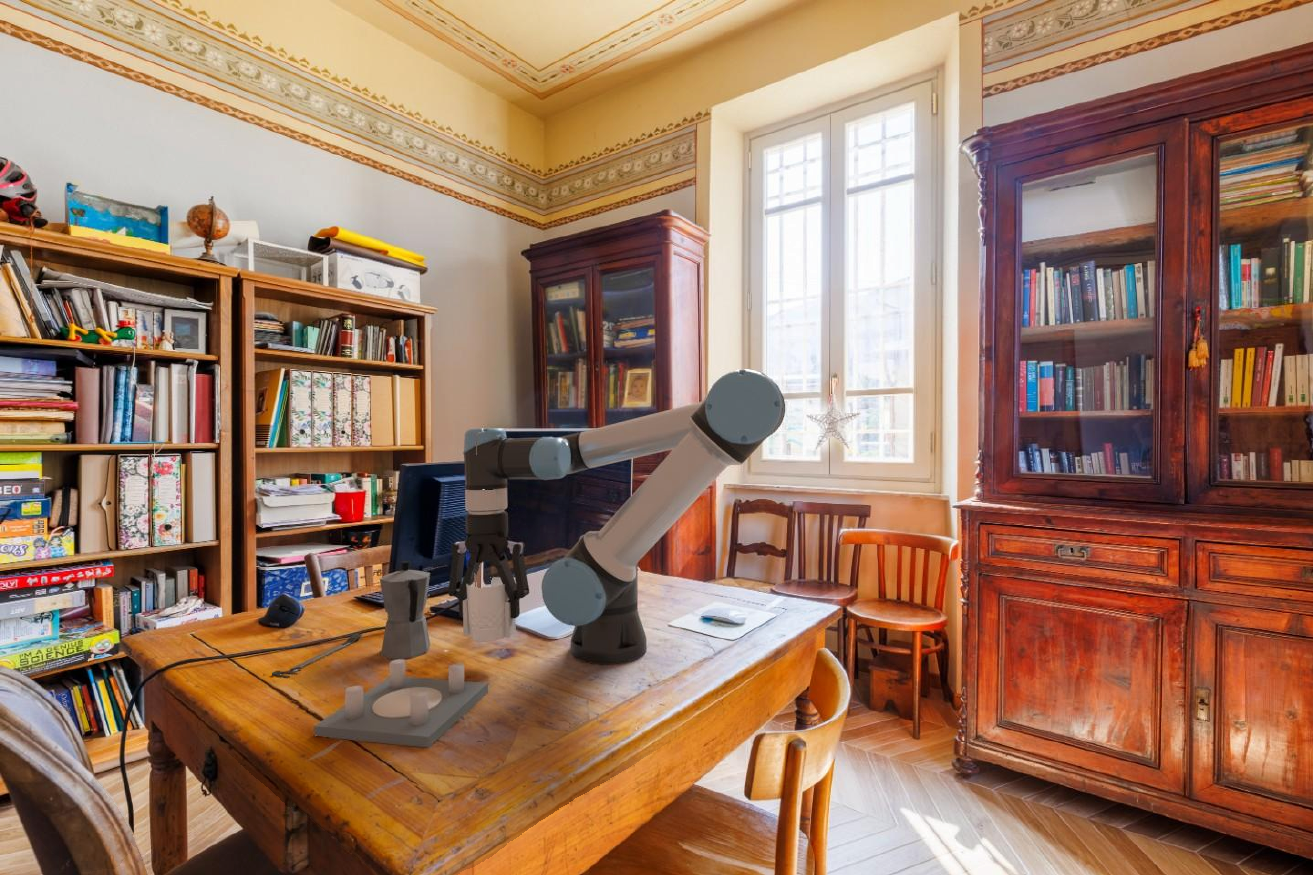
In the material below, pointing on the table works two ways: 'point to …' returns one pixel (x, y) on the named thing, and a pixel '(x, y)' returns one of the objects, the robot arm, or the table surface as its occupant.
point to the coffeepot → (405, 613)
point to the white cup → (487, 611)
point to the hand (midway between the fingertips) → (489, 634)
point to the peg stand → (403, 708)
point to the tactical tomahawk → (317, 657)
